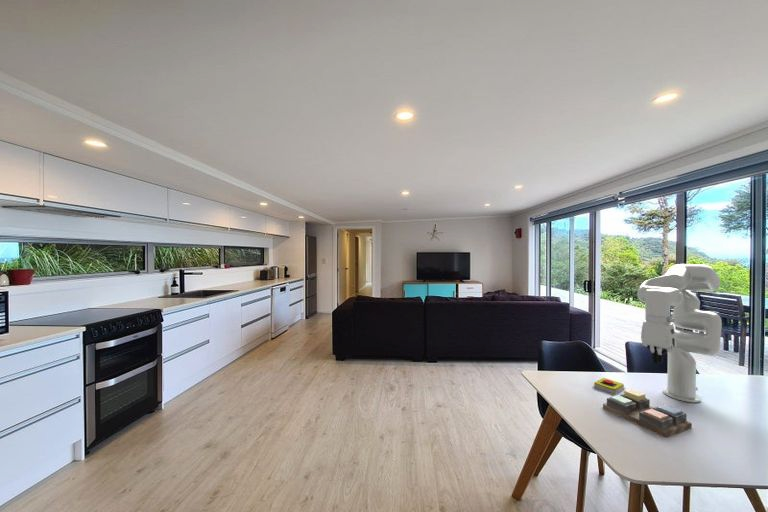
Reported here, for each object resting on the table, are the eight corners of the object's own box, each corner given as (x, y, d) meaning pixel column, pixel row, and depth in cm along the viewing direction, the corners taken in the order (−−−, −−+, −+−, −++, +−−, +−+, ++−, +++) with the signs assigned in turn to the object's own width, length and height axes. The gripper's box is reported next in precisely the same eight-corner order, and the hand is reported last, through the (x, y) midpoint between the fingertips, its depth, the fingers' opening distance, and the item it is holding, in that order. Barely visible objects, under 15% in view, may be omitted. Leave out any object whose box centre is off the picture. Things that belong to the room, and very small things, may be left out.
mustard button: (631, 396, 132) (631, 389, 132) (645, 402, 127) (645, 394, 127) (624, 398, 130) (624, 390, 130) (637, 404, 125) (638, 396, 125)
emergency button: (591, 380, 148) (605, 374, 156) (591, 389, 148) (605, 382, 156) (613, 387, 140) (626, 380, 148) (613, 396, 140) (626, 389, 148)
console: (627, 401, 134) (627, 390, 134) (691, 428, 114) (691, 415, 114) (602, 408, 128) (602, 396, 128) (666, 437, 108) (666, 424, 108)
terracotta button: (651, 417, 117) (651, 408, 117) (668, 424, 112) (668, 415, 112) (643, 419, 115) (643, 411, 115) (660, 426, 110) (660, 418, 110)
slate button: (665, 412, 121) (665, 404, 121) (681, 419, 116) (681, 410, 116) (657, 415, 119) (657, 406, 119) (674, 422, 114) (674, 413, 114)
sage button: (618, 402, 128) (618, 395, 128) (632, 408, 124) (632, 400, 124) (610, 405, 126) (610, 397, 126) (624, 411, 122) (624, 402, 122)
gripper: (686, 322, 116) (686, 367, 116) (641, 314, 130) (641, 355, 130) (675, 324, 113) (676, 371, 113) (631, 316, 127) (631, 358, 127)
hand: (657, 362), depth 122 cm, fingers closed
